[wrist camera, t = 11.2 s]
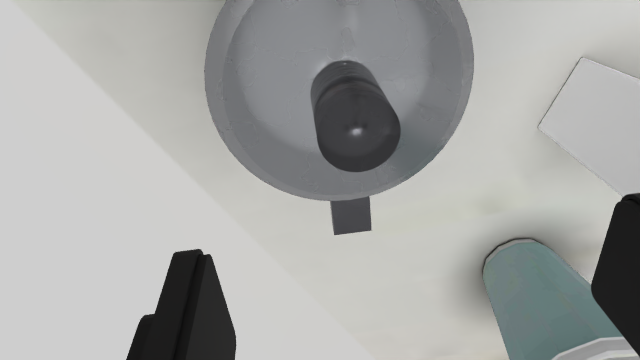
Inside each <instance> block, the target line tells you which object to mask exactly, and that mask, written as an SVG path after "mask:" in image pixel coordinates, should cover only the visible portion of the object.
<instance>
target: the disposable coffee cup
mask: <svg viewBox="0 0 640 360" xmlns="http://www.w3.org/2000/svg"><path fill="white" fill-rule="evenodd" d="M483 274H484V275H483V281H484V284H485V287H486V290H487V293H488V296H489V299H490V302H491V305H492V308H493V311H494V314H495V317H496V320H497V323H498V326H499V329H500V332H501V335H502V338H503V341H504V344H505V347H506V350H507V353H508V356H509V359H510V360H640V357H639V356H638V354H637V353H636V352H635V351H634V349H633V348H632V347H631V346H630V344H629V343H628V342H627V341H626V339H625V338H624V337H623V335H622V334H621V333H620V332H619V330H618V329H617V328H616V327H615V325H614V324H613V323H612V322H611V320H610V319H609V318H608V316H607V315H606V314H605V313H604V311H603V310H602V309H601V308H600V306H599V305H598V304H597V303H596V301H595V300H594V298H593V296H592V292H591V284H589V283H588V282H587V281H586V280H585V279H584V278H583V277H582V276H581V275H579V274H578V273H577V272H576V271H575V270H574V269H573V268H572V267H570V266H569V265H568V264H567V263H566V262H565V261H564V260H563V259H561V258H560V257H559V256H558V255H557V254H556V253H555V252H554V251H553V250H551V249H550V248H548V247H546V246H544V245H542V244H540V243H538V242H536V241H534V240H532V239H523V240H513V241H511V242H508V243H506V244H504V245H502V246H499V247H498V248H497V249H496V250H495V251H494V252H493V253H492V254H491V255H490V256H489V257H488V258H487V259H486V262H485V266H484V269H483Z"/></svg>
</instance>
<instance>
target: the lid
mask: <svg viewBox="0 0 640 360" xmlns="http://www.w3.org/2000/svg"><path fill="white" fill-rule="evenodd" d="M462 78H463V75H462V57H461V51H460V46H459V42H458V39H457V36H456V32H455V30H454V28H453V26H452V24H451V22H450V19H449V18H448V16H447V14H446V13H445V11H444V10H443V8H442V7H441V5H440V4H439V3H438V2H437V1H436V0H254V2H253V3H252V4H251V6H250V7H249V8H248V9H247V11H246V12H245V13H244V15H243V17H242V18H241V20H240V22H239V24H238V25H237V27H236V29H235V32H234V34H233V37H232V39H231V42H230V44H229V47H228V50H227V54H226V58H225V62H224V69H223V78H222V86H223V100H224V106H225V111H226V114H227V117H228V121H229V124H230V126H231V128H232V130H233V133H234V135H235V137H236V139H237V140H238V142H239V143H240V145H241V146H242V148H243V150H244V151H245V152H246V153H247V154H248V155H249V157H250V158H251V159H252V160H253V161H254V162H255V163H256V164H257V165H258V166H259V167H260V168H261V169H263V170H264V171H265V172H267V173H268V174H269V175H271V176H272V177H274V178H275V179H277V180H279V181H281V182H283V183H285V184H287V185H289V186H292V187H294V188H297V189H299V190H303V191H307V192H311V193H316V194H323V195H349V194H357V193H362V192H367V191H370V190H373V189H377V188H380V187H382V186H384V185H387V184H389V183H391V182H393V181H395V180H397V179H399V178H400V177H402V176H404V175H406V174H407V173H408V172H410V171H411V170H412V169H414V168H415V167H417V166H418V165H419V164H420V163H421V162H422V161H423V160H424V159H425V158H427V157H428V155H429V154H430V153H431V152H432V151H433V150H434V149H435V147H436V146H437V145H438V143H439V142H440V141H441V139H442V138H443V136H444V135H445V133H446V131H447V129H448V127H449V126H450V124H451V122H452V119H453V117H454V114H455V112H456V109H457V106H458V102H459V98H460V94H461V87H462Z"/></svg>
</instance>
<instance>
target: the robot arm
mask: <svg viewBox="0 0 640 360" xmlns="http://www.w3.org/2000/svg"><path fill="white" fill-rule="evenodd" d="M591 292H592V296H593V298H594V300H595V301H596V303H597V304H598V305H599V306H600V308H601V309H602V310H603V311H604V313H605V314H606V315H607V316H608V318H609V319H610V320H611V322H612V323H613V324H614V325H615V327H616V328H617V329H618V330H619V332H620V333H621V334H622V335H623V337H624V338H625V339H626V341H627V342H628V343H629V344H630V346H631V347H632V348H633V349H634V351H635V352H636V353H637V354H638V356H639V357H640V193H633V194H628V195H625V196H624V197H623V198H622V200H621V202H618V203H617V204H616V206H615V208H614V212H613V215H612V218H611V221H610V225H609V228H608V231H607V234H606V238H605V241H604V244H603V248H602V251H601V254H600V257H599V261H598V264H597V267H596V270H595V274H594V277H593V280H592V284H591ZM235 351H236V335H235V330H234V327H233V324H232V321H231V317H230V314H229V311H228V308H227V304H226V301H225V298H224V295H223V292H222V289H221V285H220V282H219V279H218V276H217V273H216V269H215V266H214V263H213V259H212V257H211V255H210V254H207V255H203V252H202V251H201V250H200V249H196V250H189V251H180V252H175V253H174V254H173V257H172V260H171V263H170V266H169V269H168V272H167V276H166V279H165V282H164V285H163V289H162V292H161V295H160V298H159V301H158V305H157V308H156V311H155V314H150V315H144V316H143V317H142V318H141V320H140V322H139V324H138V327H137V330H136V333H135V336H134V339H133V342H132V344H131V347H130V350H129V353H128V356H127V359H126V360H235Z"/></svg>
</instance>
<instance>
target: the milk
mask: <svg viewBox="0 0 640 360" xmlns="http://www.w3.org/2000/svg"><path fill="white" fill-rule="evenodd" d="M538 128H539V129H540V130H541V131H542V132H544V133H545V134H546V135H547V136H548V137H550V138H551V139H552V140H553V141H555V142H556V143H557V144H558V145H559V146H561V147H562V148H563V149H564V150H566V151H567V152H568V153H569V154H571V155H572V156H573V157H574V158H575V159H577V160H578V161H579V162H580V163H582V164H583V165H584V166H585V167H587V168H588V169H589V170H590V171H591V172H593V173H594V174H595V175H596V176H598V177H599V178H600V179H601V180H602V181H604V182H605V183H606V184H607V185H609V186H610V187H611V188H612V189H614V190H615V191H616V192H617V193H618V194H620V195H621V196H622V197H624V196H625V195H628V194H633V193H640V79H638V78H635V77H633V76H630V75H628V74H625V73H622V72H620V71H617V70H615V69H612V68H610V67H607V66H604V65H602V64H599V63H597V62H594V61H591V60H589V59H586V58H583V57H582V58H581V59H580V61H579V62H578V64H577V65H576V67H575V69H574V70H573V72H572V73H571V75H570V77H569V78H568V80H567V81H566V83H565V85H564V86H563V88H562V89H561V91H560V93H559V94H558V96H557V97H556V99H555V100H554V102H553V104H552V105H551V107H550V108H549V110H548V112H547V113H546V115H545V116H544V118H543V120H542V121H541V123H540V124H539V126H538Z"/></svg>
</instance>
